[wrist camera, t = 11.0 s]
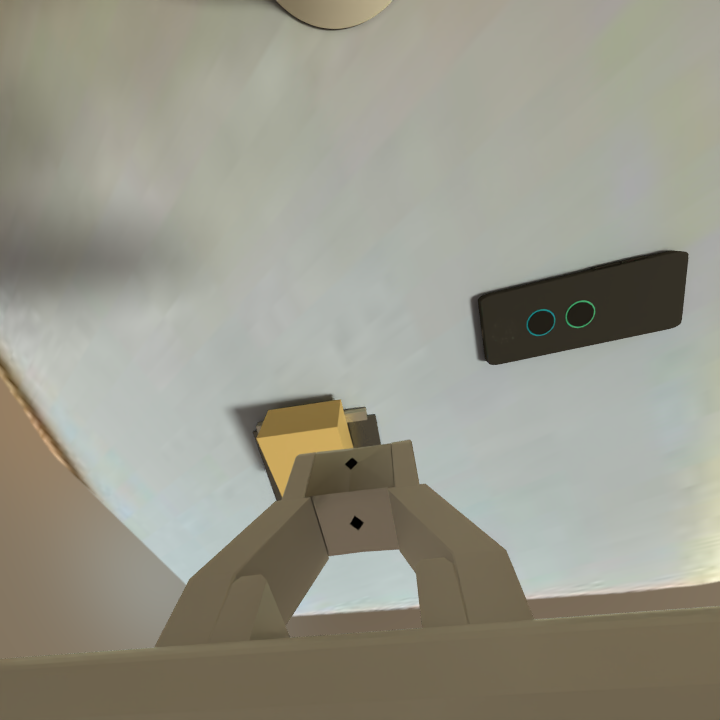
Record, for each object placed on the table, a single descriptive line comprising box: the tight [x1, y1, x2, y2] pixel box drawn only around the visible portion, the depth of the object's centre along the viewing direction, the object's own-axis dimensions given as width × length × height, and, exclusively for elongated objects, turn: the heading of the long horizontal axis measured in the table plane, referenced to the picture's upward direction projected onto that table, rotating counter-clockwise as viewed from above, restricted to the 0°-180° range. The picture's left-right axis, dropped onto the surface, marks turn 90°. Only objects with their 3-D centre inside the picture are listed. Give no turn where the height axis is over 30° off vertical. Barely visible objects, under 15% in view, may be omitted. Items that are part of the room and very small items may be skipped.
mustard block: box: [257, 399, 353, 497], centre depth 40 cm, size 5×9×10 cm
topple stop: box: [253, 407, 381, 501], centre depth 44 cm, size 13×16×1 cm
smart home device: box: [478, 251, 688, 365], centre depth 36 cm, size 8×2×20 cm
